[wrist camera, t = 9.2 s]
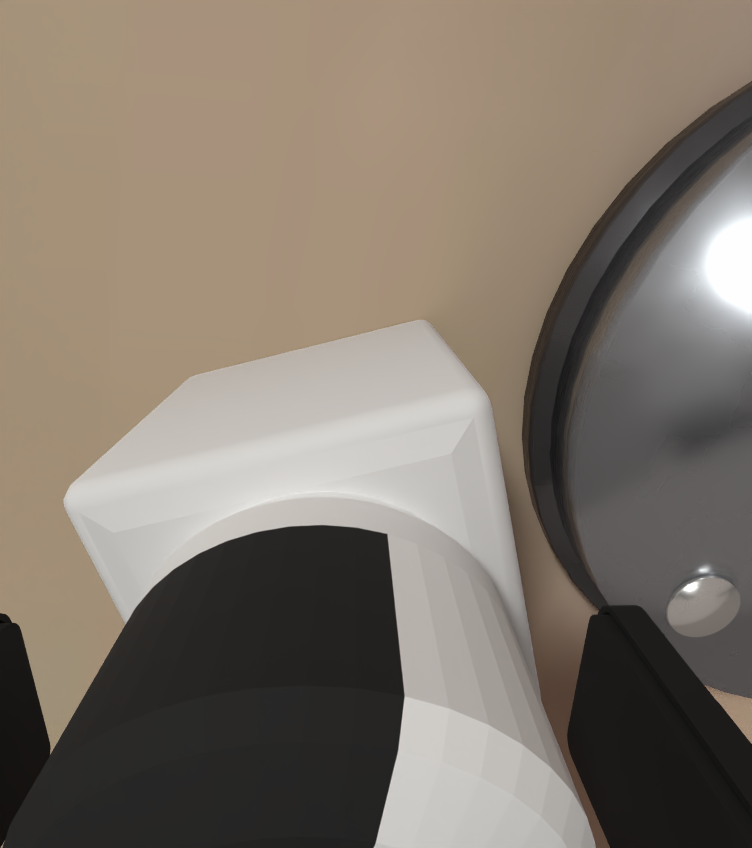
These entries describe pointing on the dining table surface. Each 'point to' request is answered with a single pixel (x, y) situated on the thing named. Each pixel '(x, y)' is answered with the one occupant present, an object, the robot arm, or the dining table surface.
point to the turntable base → (576, 296)
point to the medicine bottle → (309, 621)
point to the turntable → (670, 419)
